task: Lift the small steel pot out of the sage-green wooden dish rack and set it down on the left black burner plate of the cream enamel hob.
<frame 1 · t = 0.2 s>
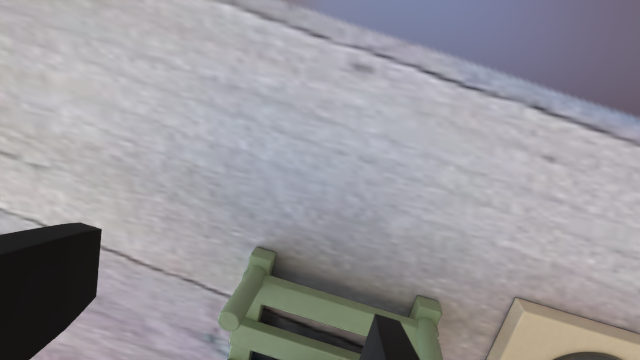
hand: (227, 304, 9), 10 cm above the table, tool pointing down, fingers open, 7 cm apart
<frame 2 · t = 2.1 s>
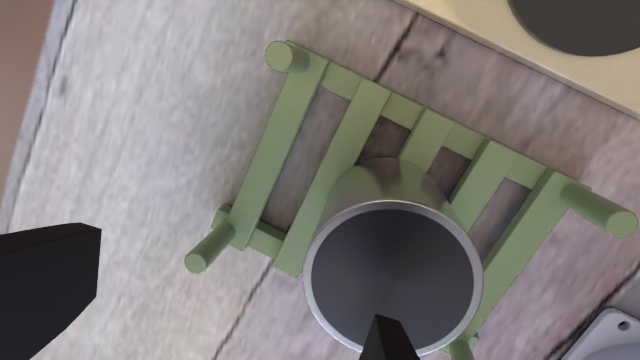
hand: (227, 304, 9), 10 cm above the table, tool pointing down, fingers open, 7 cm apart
rack: (383, 203, 19), on the table
pot: (384, 215, 17), point 2 cm above the table, touching rack
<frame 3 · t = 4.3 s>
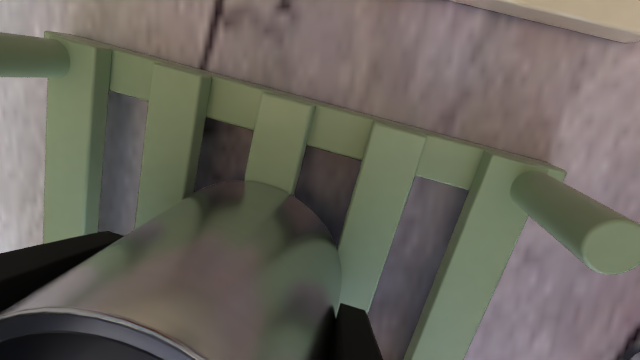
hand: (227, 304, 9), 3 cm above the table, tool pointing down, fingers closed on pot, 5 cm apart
rack: (265, 245, 12), on the table
pot: (248, 269, 11), point 2 cm above the table, touching gripper, rack
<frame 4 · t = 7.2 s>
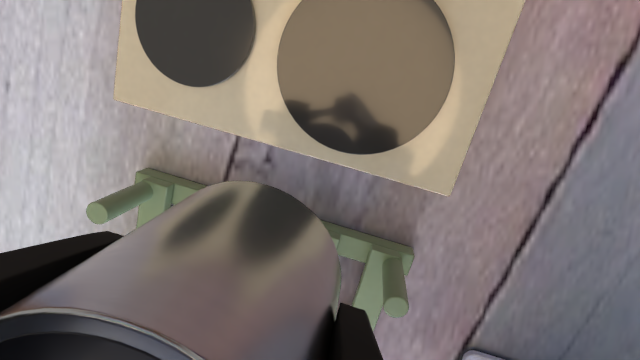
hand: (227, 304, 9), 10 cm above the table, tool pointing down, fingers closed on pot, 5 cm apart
hob: (302, 52, 17), on the table
rack: (257, 286, 21), on the table
pot: (248, 270, 11), point 9 cm above the table, touching gripper
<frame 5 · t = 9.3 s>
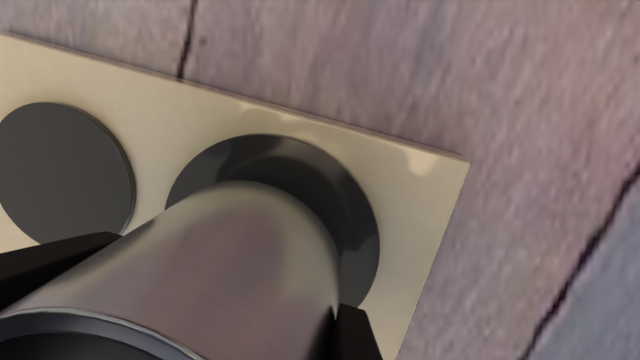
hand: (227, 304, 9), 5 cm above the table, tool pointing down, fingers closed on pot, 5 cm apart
hob: (203, 206, 14), on the table
pot: (248, 269, 11), point 3 cm above the table, touching gripper
when the fingers open (3 cm above the table, at t = 10.5 s): pot stays where it is, resting on hob.
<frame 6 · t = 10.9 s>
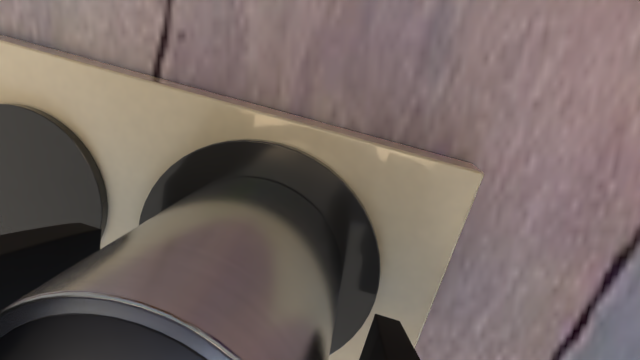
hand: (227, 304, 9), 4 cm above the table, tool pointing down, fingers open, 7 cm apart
hob: (185, 219, 13), on the table
pot: (251, 263, 11), point 1 cm above the table, touching hob
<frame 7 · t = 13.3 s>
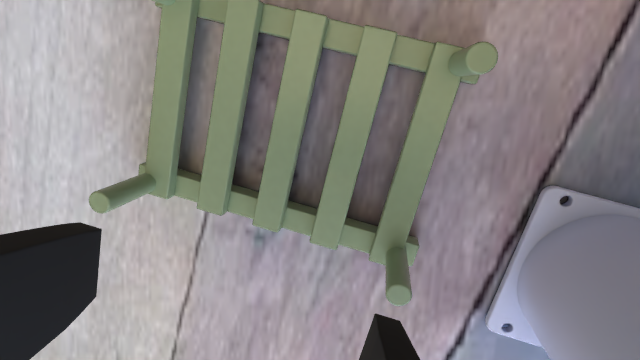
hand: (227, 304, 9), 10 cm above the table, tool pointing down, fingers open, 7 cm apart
rack: (294, 126, 18), on the table
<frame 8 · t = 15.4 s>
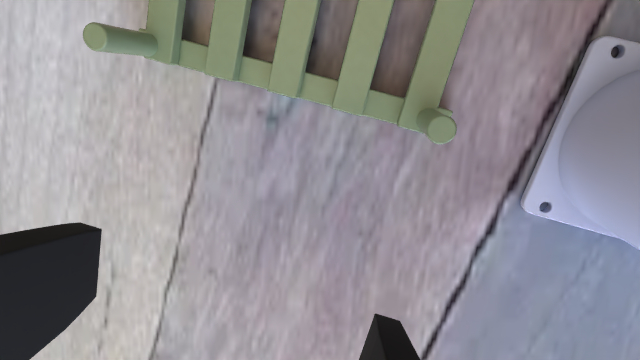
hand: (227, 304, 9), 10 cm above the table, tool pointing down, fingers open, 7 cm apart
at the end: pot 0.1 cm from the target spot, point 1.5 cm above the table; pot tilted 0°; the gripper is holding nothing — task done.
